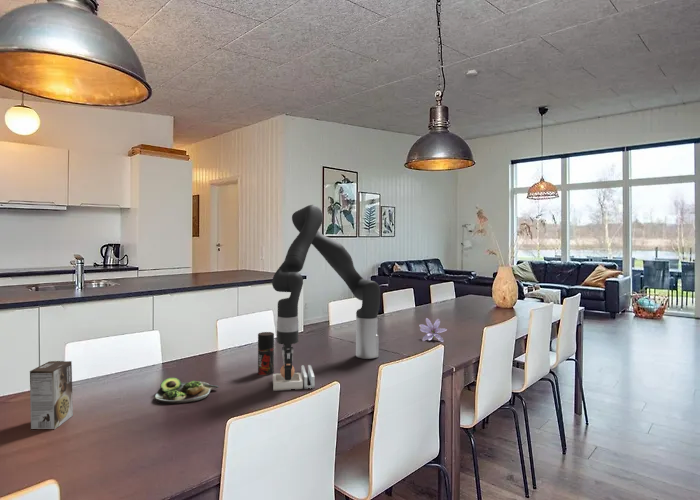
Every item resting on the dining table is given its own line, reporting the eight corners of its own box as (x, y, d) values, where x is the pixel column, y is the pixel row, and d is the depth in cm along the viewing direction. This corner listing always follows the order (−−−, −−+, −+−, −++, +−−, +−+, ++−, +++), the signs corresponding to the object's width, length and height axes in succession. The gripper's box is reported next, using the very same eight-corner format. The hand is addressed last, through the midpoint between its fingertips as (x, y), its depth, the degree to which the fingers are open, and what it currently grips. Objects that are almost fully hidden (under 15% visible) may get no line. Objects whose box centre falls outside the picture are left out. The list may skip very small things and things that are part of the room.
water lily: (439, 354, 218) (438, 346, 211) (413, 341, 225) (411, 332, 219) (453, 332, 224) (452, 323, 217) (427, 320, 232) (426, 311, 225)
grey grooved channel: (310, 375, 162) (310, 364, 162) (314, 388, 149) (314, 376, 149) (301, 375, 162) (301, 365, 162) (304, 388, 148) (304, 377, 148)
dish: (300, 379, 158) (300, 372, 158) (302, 389, 148) (303, 381, 148) (272, 381, 156) (272, 373, 156) (273, 390, 146) (273, 383, 146)
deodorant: (276, 371, 167) (276, 332, 167) (268, 376, 162) (268, 336, 161) (263, 369, 169) (263, 331, 169) (255, 374, 163) (255, 334, 163)
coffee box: (50, 416, 124) (49, 360, 124) (73, 415, 125) (72, 360, 124) (29, 430, 115) (28, 370, 115) (54, 429, 116) (54, 370, 115)
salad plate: (220, 383, 154) (220, 370, 154) (216, 402, 137) (216, 387, 137) (162, 387, 150) (162, 374, 150) (150, 407, 132) (150, 392, 132)
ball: (294, 375, 155) (294, 361, 155) (295, 380, 150) (295, 365, 150) (280, 376, 154) (280, 362, 154) (280, 380, 149) (280, 366, 149)
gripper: (299, 333, 145) (299, 383, 146) (297, 324, 159) (297, 370, 160) (277, 333, 144) (277, 384, 144) (276, 325, 158) (276, 371, 158)
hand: (287, 376), depth 152 cm, fingers closed on ball, 4 cm apart
